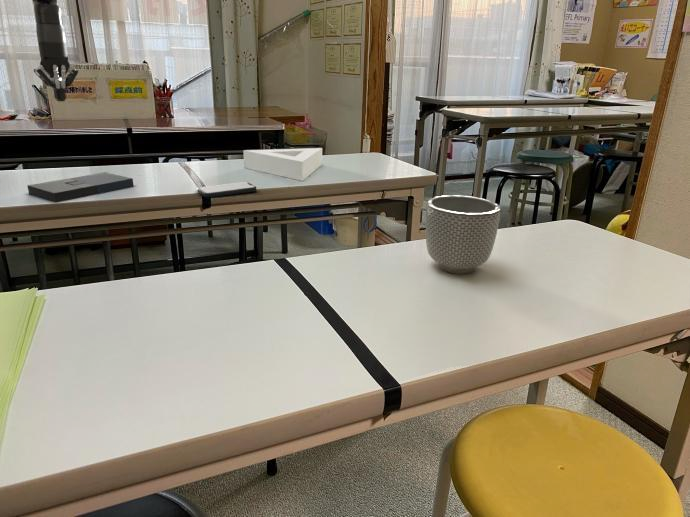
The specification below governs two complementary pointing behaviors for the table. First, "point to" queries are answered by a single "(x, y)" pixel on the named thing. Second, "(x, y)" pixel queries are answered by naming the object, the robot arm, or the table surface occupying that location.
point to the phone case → (226, 189)
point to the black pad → (61, 190)
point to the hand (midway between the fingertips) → (60, 101)
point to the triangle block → (284, 161)
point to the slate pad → (104, 181)
